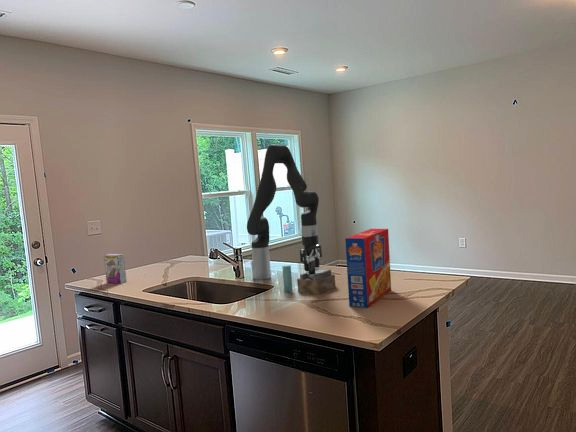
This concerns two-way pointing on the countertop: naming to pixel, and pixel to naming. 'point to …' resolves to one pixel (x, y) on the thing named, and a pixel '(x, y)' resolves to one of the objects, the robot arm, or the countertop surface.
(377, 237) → the pasta box
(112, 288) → the countertop surface
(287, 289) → the teal peg
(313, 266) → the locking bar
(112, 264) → the candy bar box
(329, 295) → the countertop surface
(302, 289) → the socket block
